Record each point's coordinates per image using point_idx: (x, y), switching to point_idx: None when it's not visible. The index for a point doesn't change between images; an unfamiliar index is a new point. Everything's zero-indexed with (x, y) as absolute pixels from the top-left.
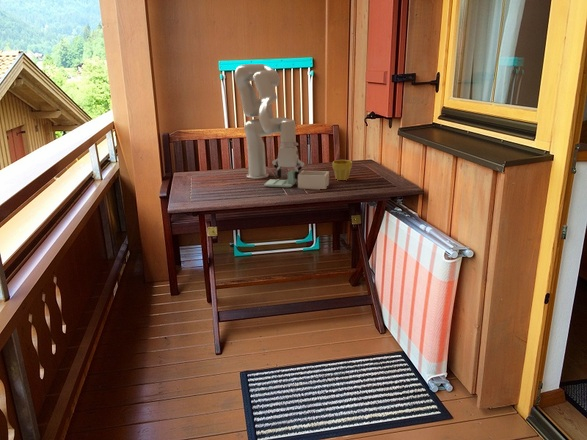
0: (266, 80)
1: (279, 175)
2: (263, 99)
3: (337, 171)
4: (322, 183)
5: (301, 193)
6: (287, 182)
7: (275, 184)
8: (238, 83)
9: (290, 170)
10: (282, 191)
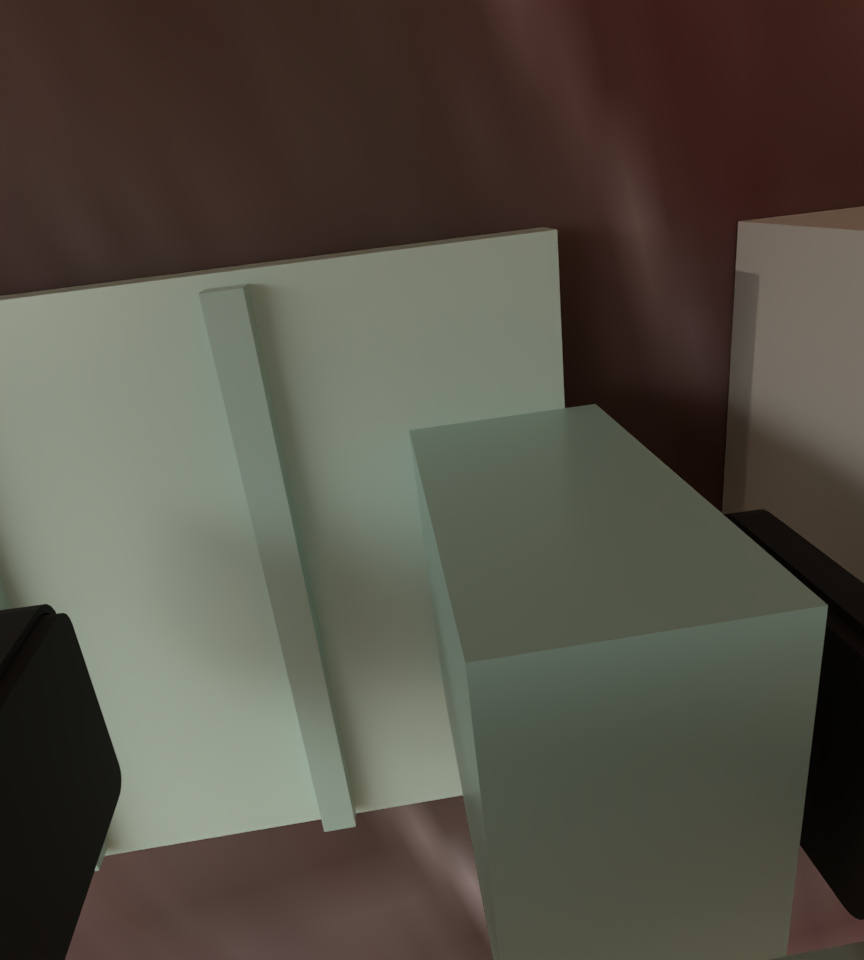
0: None
1: (95, 866)
2: None
3: None
4: None
5: (833, 923)
6: (375, 570)
7: (153, 835)
8: None
9: (525, 722)
10: (458, 937)
